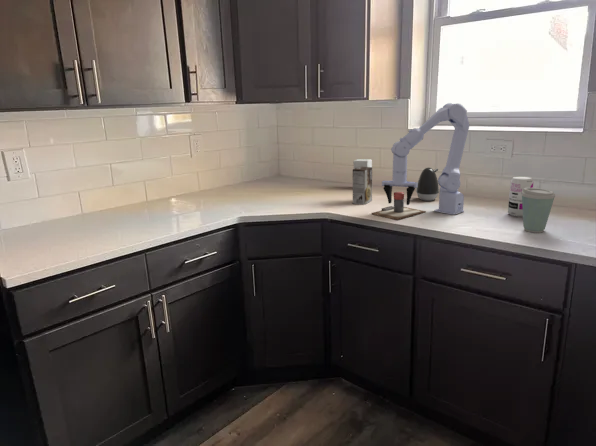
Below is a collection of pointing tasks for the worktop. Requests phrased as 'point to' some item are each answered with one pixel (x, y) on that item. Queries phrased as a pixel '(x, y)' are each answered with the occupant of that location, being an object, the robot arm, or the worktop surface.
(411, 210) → the clipboard
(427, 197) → the pump dispenser
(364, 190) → the coffee box
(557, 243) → the worktop surface
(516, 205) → the supplement can
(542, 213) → the disposable coffee cup
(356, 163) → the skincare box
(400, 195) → the marker
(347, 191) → the worktop surface
